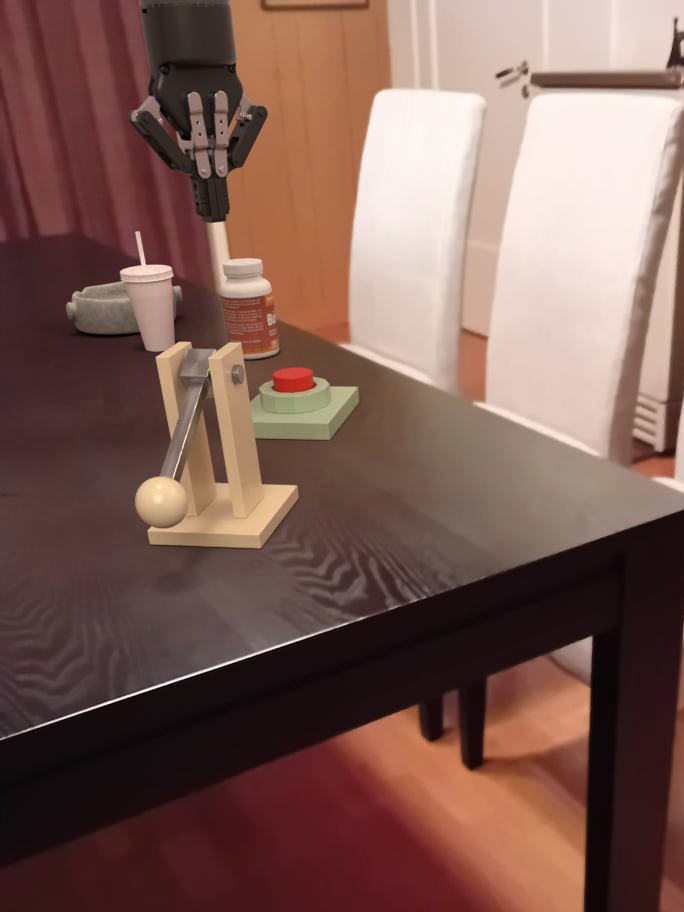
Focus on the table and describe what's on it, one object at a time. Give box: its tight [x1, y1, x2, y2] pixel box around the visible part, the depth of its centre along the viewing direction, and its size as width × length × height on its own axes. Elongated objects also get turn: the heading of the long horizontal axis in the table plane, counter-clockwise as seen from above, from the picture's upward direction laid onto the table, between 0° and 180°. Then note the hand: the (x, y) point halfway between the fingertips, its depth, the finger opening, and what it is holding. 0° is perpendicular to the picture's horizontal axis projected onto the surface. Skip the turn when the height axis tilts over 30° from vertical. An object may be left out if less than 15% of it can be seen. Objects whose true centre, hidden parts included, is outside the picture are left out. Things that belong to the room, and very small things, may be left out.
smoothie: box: [119, 230, 176, 352], centre depth 127 cm, size 6×6×14 cm
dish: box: [65, 280, 183, 336], centre depth 140 cm, size 14×14×5 cm
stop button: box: [272, 366, 314, 393], centre depth 102 cm, size 4×4×2 cm
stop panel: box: [250, 376, 360, 441], centre depth 103 cm, size 12×10×4 cm
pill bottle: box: [219, 257, 280, 360], centre depth 123 cm, size 6×6×11 cm
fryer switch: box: [146, 341, 300, 549], centre depth 78 cm, size 10×9×14 cm
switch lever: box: [134, 348, 218, 529], centre depth 73 cm, size 15×4×4 cm, turn 172°
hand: (213, 221), depth 94 cm, fingers closed
